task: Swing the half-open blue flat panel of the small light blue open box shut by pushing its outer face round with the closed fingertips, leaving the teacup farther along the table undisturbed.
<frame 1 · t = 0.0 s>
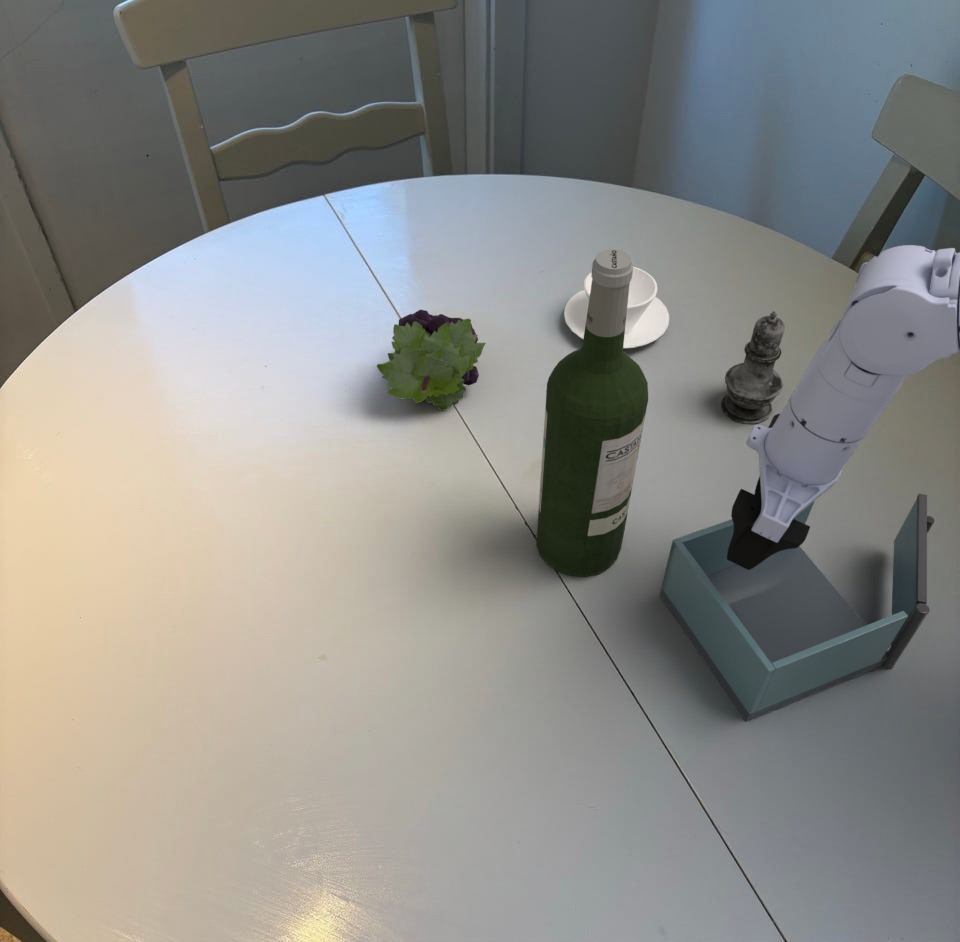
hand: (753, 529, 74), 9 cm above the table, tool pointing down, fingers open, 7 cm apart
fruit: (436, 388, 100), on the table
light blue open box: (769, 628, 80), on the table
blue flat panel: (915, 570, 78), point 5 cm above the table, hinge at 40.0°
teacup: (615, 326, 106), on the table
wine bottle: (578, 546, 86), on the table
salt shaker: (745, 408, 97), on the table
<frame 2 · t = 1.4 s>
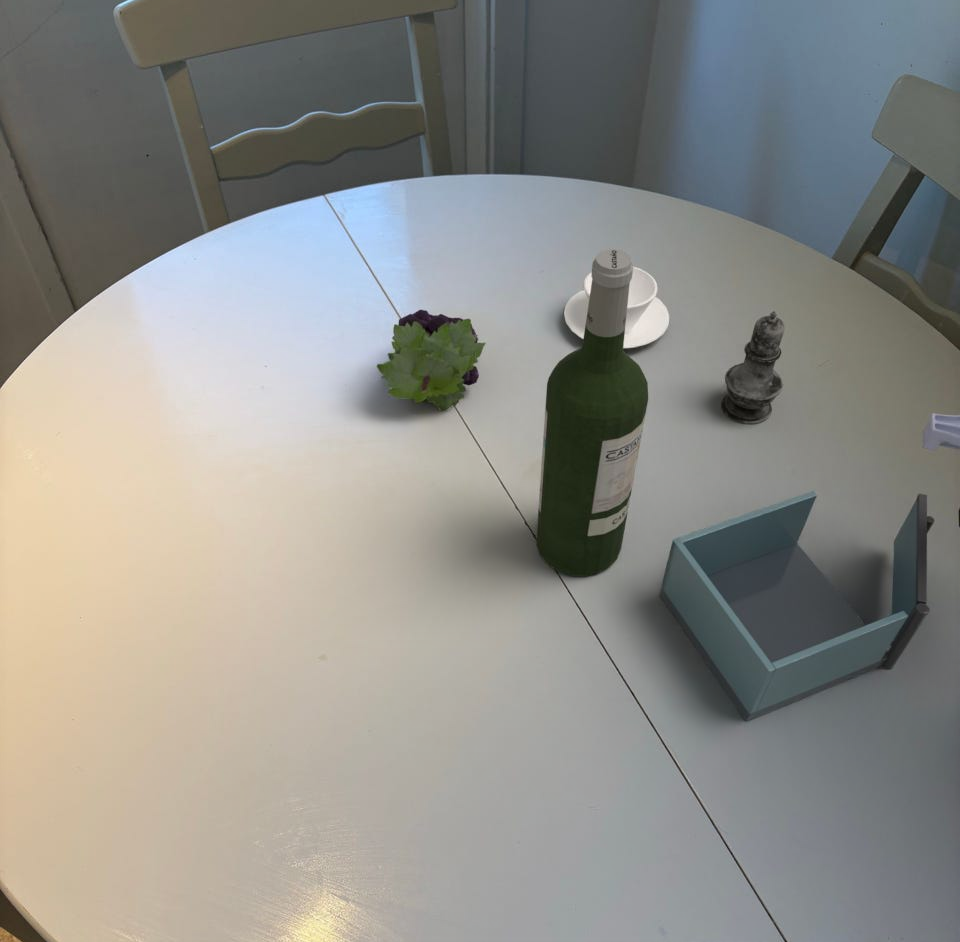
nothing on the table moved.
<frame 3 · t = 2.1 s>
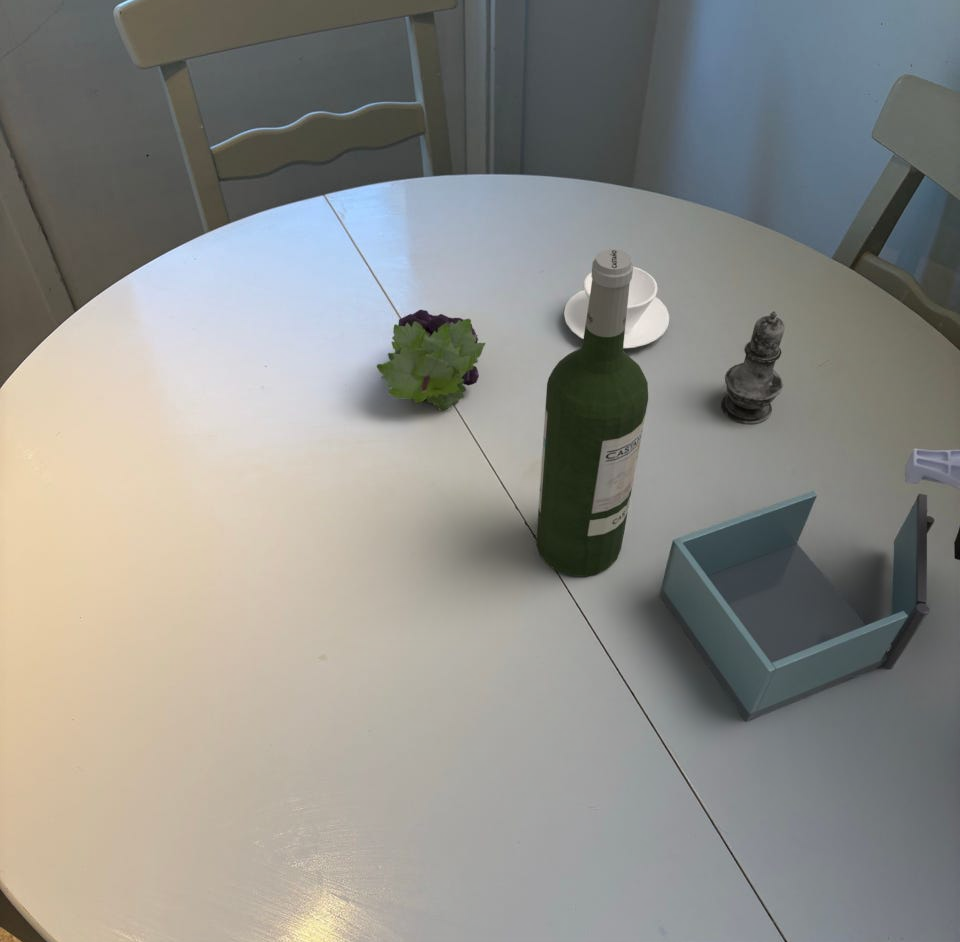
nothing on the table moved.
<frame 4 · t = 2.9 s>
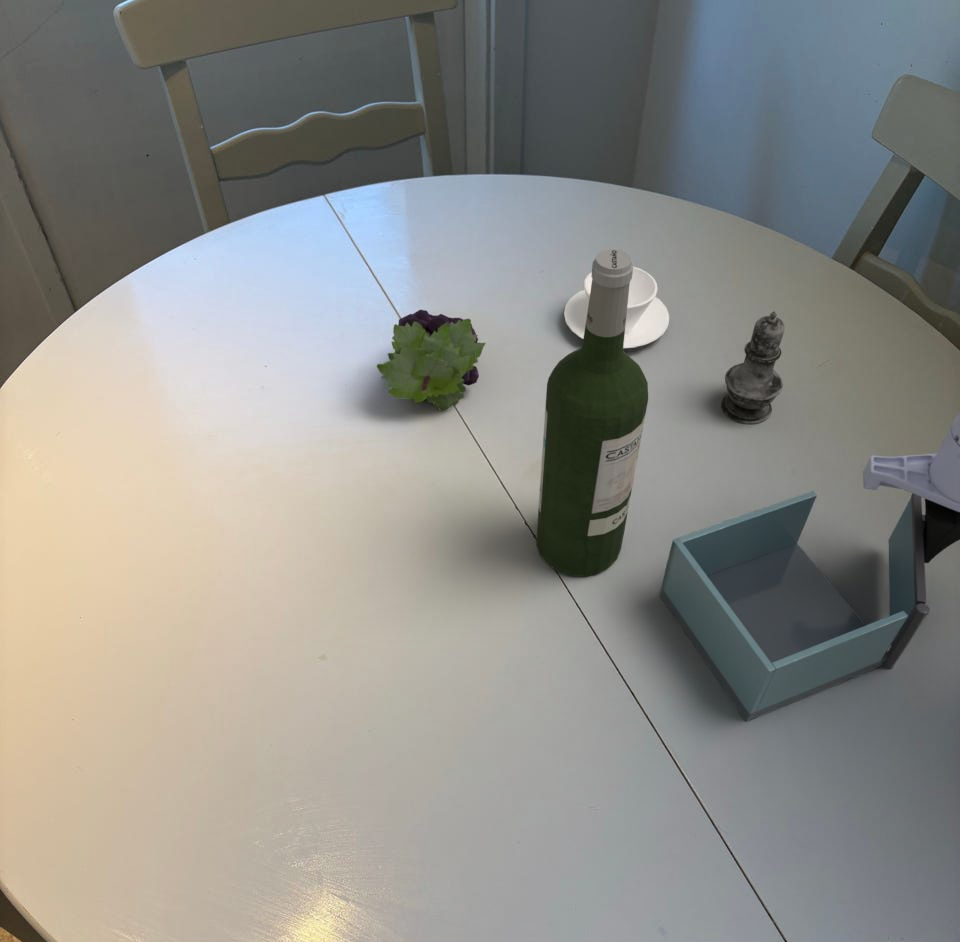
hand: (922, 553, 79), 4 cm above the table, tool pointing down, fingers closed
blue flat panel: (912, 569, 78), point 5 cm above the table, hinge at 37.8°, touching gripper
everything else where it was.
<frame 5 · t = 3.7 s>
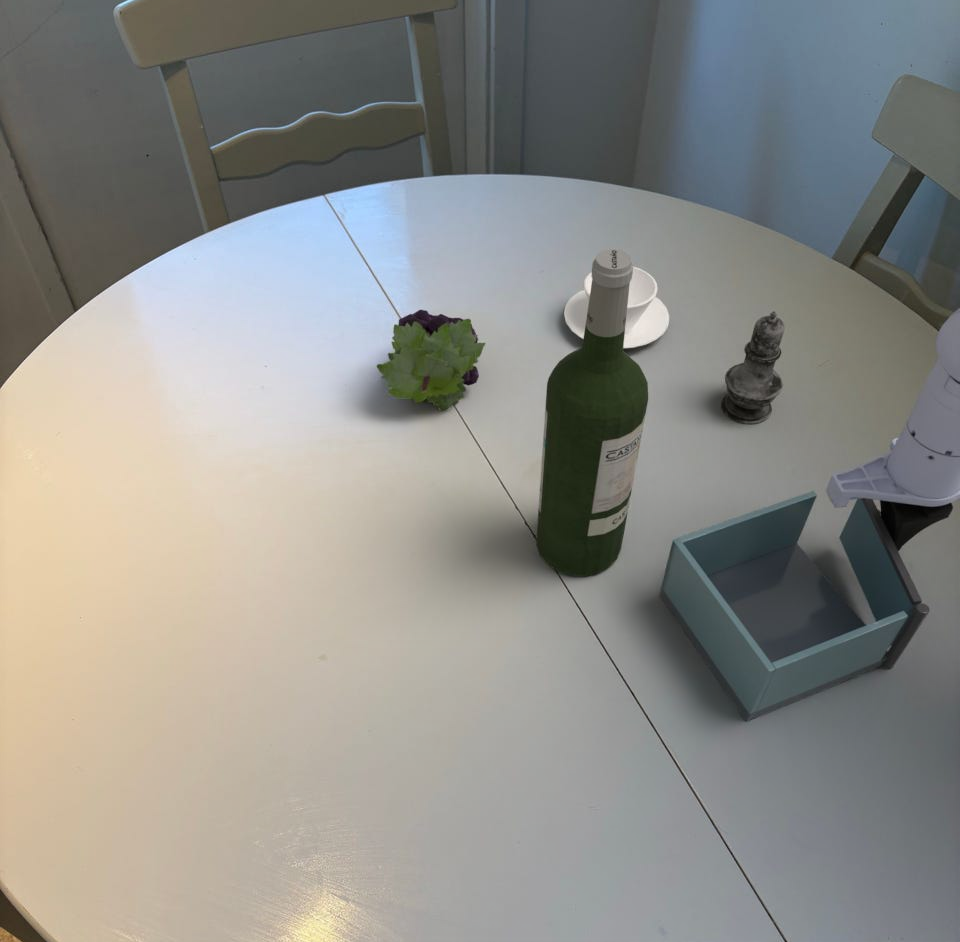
hand: (884, 546, 80), 4 cm above the table, tool pointing down, fingers closed
blue flat panel: (883, 566, 78), point 5 cm above the table, hinge at 17.7°, touching gripper
everything else where it was.
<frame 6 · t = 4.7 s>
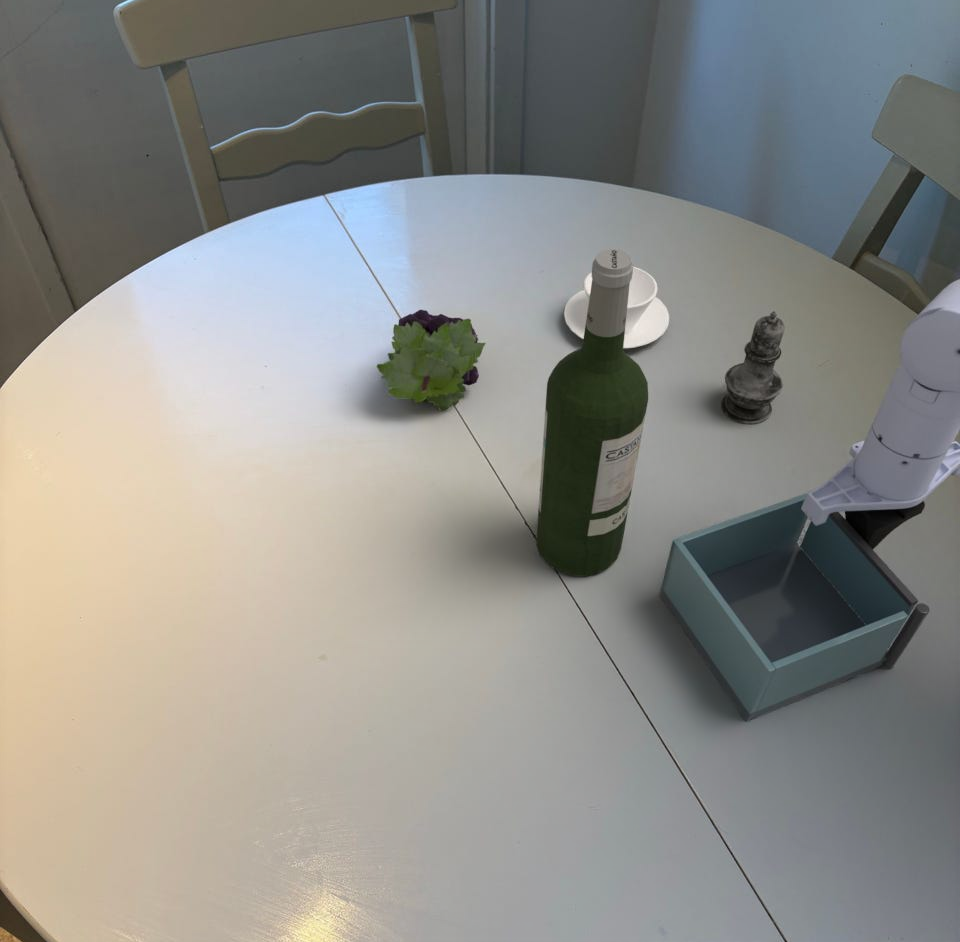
hand: (854, 549, 79), 4 cm above the table, tool pointing down, fingers closed
blue flat panel: (860, 569, 78), point 5 cm above the table, hinge at 0.0°, touching gripper
everything else where it was.
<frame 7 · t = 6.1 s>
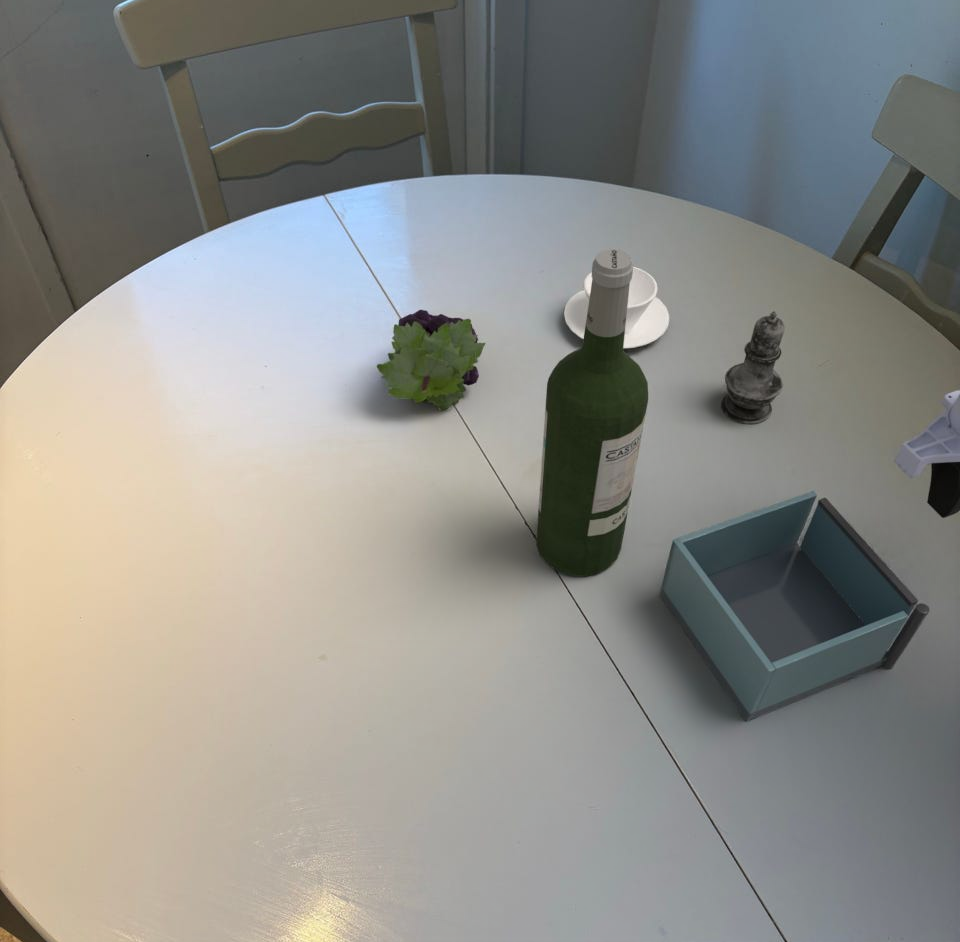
hand: (941, 507, 76), 9 cm above the table, tool pointing down, fingers closed
blue flat panel: (860, 569, 78), point 5 cm above the table, hinge at -0.1°
everything else where it was.
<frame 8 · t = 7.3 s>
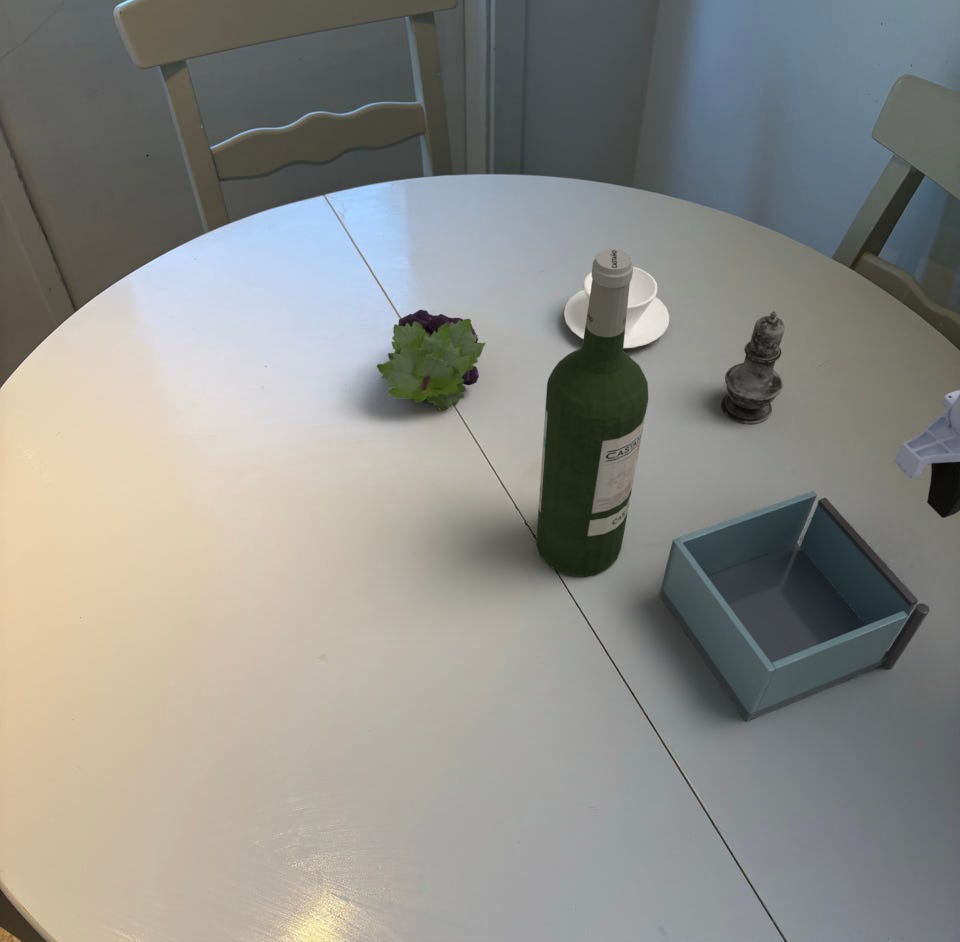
hand: (941, 507, 76), 9 cm above the table, tool pointing down, fingers closed
nothing on the table moved.
at the end: blue flat panel at +0° (first picture: +40°); teacup moved 0.2 cm from its start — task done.
